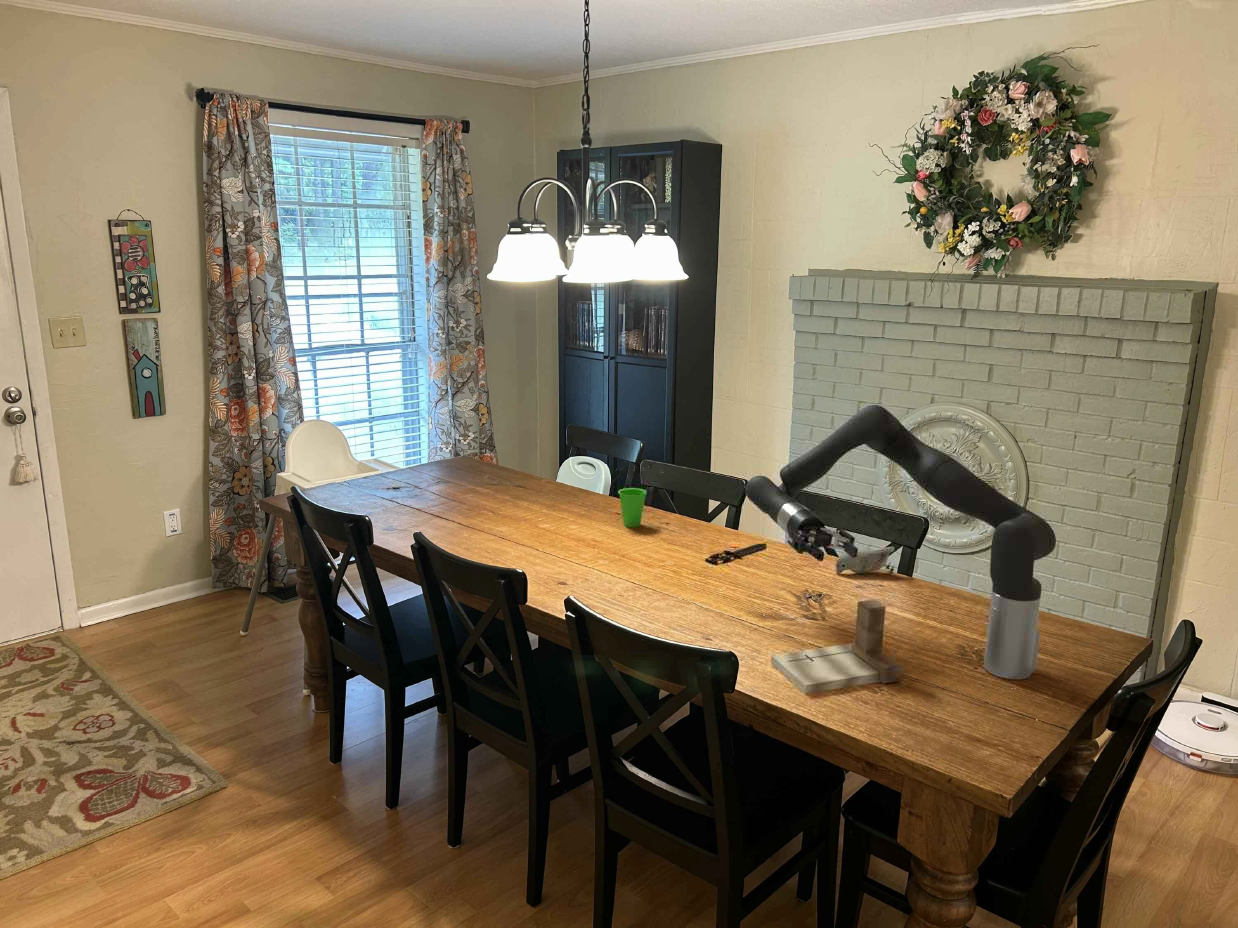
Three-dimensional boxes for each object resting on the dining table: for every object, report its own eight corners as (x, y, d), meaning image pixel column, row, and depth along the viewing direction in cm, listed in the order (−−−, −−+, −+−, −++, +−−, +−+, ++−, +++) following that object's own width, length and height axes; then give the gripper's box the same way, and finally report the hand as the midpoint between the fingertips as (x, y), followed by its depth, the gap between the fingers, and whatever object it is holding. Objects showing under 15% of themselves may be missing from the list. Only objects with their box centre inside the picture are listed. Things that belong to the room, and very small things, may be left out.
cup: (652, 525, 289) (652, 491, 286) (632, 531, 282) (633, 497, 280) (631, 519, 295) (631, 486, 292) (611, 525, 288) (612, 491, 286)
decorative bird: (832, 571, 250) (834, 545, 248) (888, 569, 251) (890, 543, 250) (838, 578, 244) (840, 551, 243) (896, 576, 246) (898, 550, 244)
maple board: (859, 650, 200) (860, 641, 200) (898, 678, 187) (899, 669, 187) (770, 664, 193) (771, 655, 192) (805, 694, 180) (805, 684, 180)
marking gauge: (864, 654, 197) (869, 596, 194) (900, 680, 185) (905, 618, 182) (848, 657, 195) (853, 598, 192) (883, 682, 184) (889, 621, 181)
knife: (763, 544, 272) (763, 540, 272) (779, 550, 267) (779, 545, 267) (699, 560, 258) (699, 556, 257) (715, 567, 253) (715, 562, 252)
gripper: (775, 510, 206) (814, 542, 192) (829, 506, 211) (870, 537, 197) (770, 540, 209) (808, 574, 195) (823, 535, 214) (863, 567, 200)
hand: (839, 555), depth 196 cm, fingers open, 8 cm apart
